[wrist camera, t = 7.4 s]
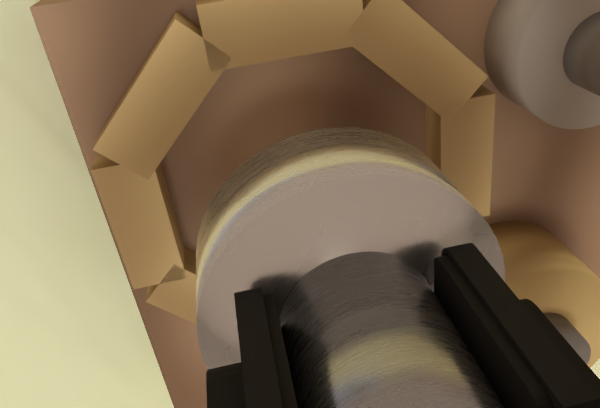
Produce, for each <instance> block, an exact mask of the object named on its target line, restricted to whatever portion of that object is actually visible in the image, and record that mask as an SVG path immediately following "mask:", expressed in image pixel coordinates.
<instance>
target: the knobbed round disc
mask: <svg viewBox="0 0 600 408" xmlns="http://www.w3.org/2000/svg"><path fill="white" fill-rule="evenodd" d="M466 243H473V244H474V245H475V246H476V247H477V249H478V250H479V251H480V252H481V253H482V255H483V256H484V257H485V258H486V260H487V261H488V262H489V263H490V264H491V266H492V267H493V268H494V269H495V271H496V272H497V273H498V274H499V275H500V277H501V278H502V279H503V280H504V282H505V266H504V260H503V255H502V251H501V249H500V246H499V243H498V240H497V238H496V236H495V234H494V233H493V231H492V229H491V227H490V226H489V224H488V223H487V222H486V221H485V219H484V218H483V217H482V216H481V215H480V213H479V212H478V211H477V210H476V209H475V208H474V207H473V206H472V204H471V203H470V202H469V201H468V200H467V199H466V198H465V197H464V196H463V195H462V194H461V192H460V191H459V190H458V189H457V188H456V187H455V186H454V185H453V184H452V183H451V182H450V180H449V179H448V178H447V177H446V176H445V175H444V174H443V173H442V172H441V171H440V169H439V168H438V167H437V166H436V165H435V164H434V163H433V162H432V161H431V160H430V159H429V158H428V157H427V156H426V155H424V154H423V153H422V152H421V151H420V150H419V149H417V148H415V147H414V146H412V145H411V144H409V143H407V142H406V141H404V140H401V139H399V138H397V137H394V136H392V135H390V134H387V133H383V132H379V131H376V130H372V129H364V128H356V127H332V128H324V129H316V130H312V131H308V132H304V133H300V134H296V135H294V136H291V137H288V138H286V139H283V140H281V141H278V142H276V143H274V144H272V145H271V146H269V147H267V148H265V149H263V150H261V151H260V152H258V153H257V154H255V155H254V156H253V157H251V158H250V159H248V160H247V161H245V162H244V163H243V164H242V165H241V166H240V167H239V168H238V169H236V170H235V171H234V172H233V173H232V174H231V175H230V176H229V177H228V179H227V180H226V181H225V182H224V183H223V184H222V186H221V187H220V188H219V189H218V191H217V192H216V194H215V196H214V197H213V199H212V200H211V202H210V203H209V205H208V208H207V210H206V212H205V214H204V216H203V219H202V222H201V225H200V229H199V232H198V237H197V244H196V315H197V338H198V343H199V348H200V352H201V354H202V357H203V360H204V362H205V365H206V367H207V368H208V369H213V368H217V367H222V366H226V365H231V364H235V363H240V362H241V355H240V346H239V336H238V327H237V318H236V309H235V299H234V293H236V292H241V291H245V290H250V289H255V288H259V287H261V288H262V292H263V294H267V293H272V292H274V297H275V301H276V306H277V311H278V316H279V320H280V325H281V330H282V335H283V339H284V344H285V349H286V354H287V359H288V363H289V368H290V373H291V378H292V382H293V387H294V392H295V397H296V401H297V406H298V408H505V407H504V405H503V404H502V402H501V401H500V399H499V397H498V396H497V394H496V392H495V391H494V389H493V388H492V386H491V384H490V383H489V381H488V379H487V378H486V376H485V375H484V373H483V371H482V370H481V368H480V366H479V365H478V363H477V362H476V360H475V358H474V357H473V355H472V353H471V352H470V350H469V349H468V347H467V345H466V344H465V342H464V340H463V339H462V337H461V336H460V334H459V332H458V331H457V329H456V327H455V326H454V324H453V323H452V321H451V319H450V318H449V316H448V314H447V313H446V311H445V310H444V308H443V306H442V305H441V303H440V301H439V300H438V298H437V297H436V295H435V293H434V259H435V258H436V257H440V256H441V252H442V250H443V249H444V248H447V247H452V246H456V245H461V244H466Z"/></svg>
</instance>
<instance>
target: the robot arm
mask: <svg viewBox="0 0 600 408" xmlns="http://www.w3.org/2000/svg"><path fill="white" fill-rule="evenodd" d="M434 293H435V295H436V297H437V298H438V300H439V301H440V303H441V305H442V306H443V308H444V310H445V311H446V313H447V314H448V316H449V318H450V319H451V321H452V323H453V324H454V326H455V327H456V329H457V331H458V332H459V334H460V336H461V337H462V339H463V340H464V342H465V344H466V345H467V347H468V349H469V350H470V352H471V353H472V355H473V357H474V358H475V360H476V362H477V363H478V365H479V366H480V368H481V370H482V371H483V373H484V375H485V376H486V378H487V379H488V381H489V383H490V384H491V386H492V388H493V389H494V391H495V392H496V394H497V396H498V397H499V399H500V401H501V402H502V404H503V405H504V407H505V408H600V379H599V378H598V377H597V376H596V375H595V374H594V372H593V371H592V370H591V369H590V368H589V367H588V365H587V364H586V363H585V362H584V361H583V359H582V358H581V357H580V356H579V355H578V354H577V352H576V351H575V350H574V349H573V348H572V346H571V345H570V344H569V343H568V342H567V341H566V339H565V338H564V337H563V336H562V335H561V334H560V332H559V331H558V330H557V329H556V328H555V326H554V325H553V324H552V323H551V322H550V321H549V319H548V318H547V317H546V316H545V315H544V314H543V312H542V311H541V310H540V309H539V308H538V306H537V305H536V304H534V303H533V302H532V301H531V300H529V299H526V298H525V299H521V300H519V299H518V297H517V296H516V295H515V294H514V293H513V291H512V290H511V289H510V288H509V286H508V285H507V284H506V283H505V282H504V280H503V279H502V278H501V277H500V275H499V274H498V273H497V272H496V271H495V269H494V268H493V267H492V266H491V264H490V263H489V262H488V261H487V260H486V258H485V257H484V256H483V255H482V253H481V252H480V251H479V250H478V249H477V247H476V246H475V245H474V244H473V243H466V244H461V245H456V246H452V247H447V248H444V249H443V250H442V252H441V256H440V257H436V258H435V259H434ZM234 299H235V309H236V318H237V327H238V336H239V346H240V355H241V362H240V363H235V364H231V365H226V366H222V367H217V368H213V369H208V370H207V372H206V391H207V408H298V406H297V401H296V397H295V392H294V387H293V382H292V378H291V373H290V368H289V363H288V359H287V354H286V349H285V344H284V339H283V335H282V330H281V325H280V320H279V316H278V311H277V306H276V301H275V297H274V292H272V293H267V294H263V292H262V288H261V287H259V288H255V289H250V290H245V291H241V292H236V293H234Z"/></svg>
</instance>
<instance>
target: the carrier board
mask: <svg viewBox="0 0 600 408" xmlns="http://www.w3.org/2000/svg"><path fill="white" fill-rule="evenodd" d="M30 9H31V12H32V15H33V18H34V20H35V23H36V26H37V29H38V32H39V34H40V37H41V40H42V43H43V45H44V48H45V51H46V54H47V56H48V59H49V62H50V65H51V68H52V70H53V73H54V76H55V79H56V81H57V84H58V87H59V90H60V92H61V95H62V98H63V101H64V104H65V106H66V109H67V112H68V115H69V117H70V120H71V123H72V126H73V128H74V131H75V134H76V137H77V140H78V142H79V145H80V148H81V151H82V153H83V156H84V159H85V162H86V164H87V167H88V170H89V173H90V176H91V178H92V181H93V184H94V187H95V189H96V192H97V195H98V198H99V200H100V203H101V206H102V209H103V212H104V214H105V217H106V220H107V223H108V225H109V228H110V231H111V234H112V236H113V239H114V242H115V245H116V248H117V250H118V253H119V256H120V259H121V261H122V264H123V267H124V270H125V272H126V275H127V278H128V281H129V284H130V286H131V289H132V292H133V295H134V297H135V300H136V303H137V306H138V308H139V311H140V314H141V317H142V320H143V322H144V325H145V328H146V331H147V333H148V336H149V339H150V342H151V344H152V347H153V350H154V353H155V356H156V358H157V361H158V364H159V367H160V369H161V372H162V375H163V378H164V380H165V383H166V386H167V389H168V392H169V394H170V397H171V400H172V403H173V405H174V408H207V391H206V372H207V370H208V368H207V367H206V365H205V362H204V360H203V357H202V354H201V352H200V348H199V343H198V338H197V315H196V244H197V237H198V232H199V229H200V225H201V222H202V219H203V216H204V214H205V212H206V210H207V208H208V205H209V203H210V202H211V200H212V199H213V197H214V196H215V194H216V192H217V191H218V189H219V188H220V187H221V186H222V184H223V183H224V182H225V181H226V180H227V179H228V177H229V176H230V175H231V174H232V173H233V172H234V171H235V170H236V169H238V168H239V167H240V166H241V165H242V164H243V163H244V162H245V161H247V160H248V159H250V158H251V157H253V156H254V155H255V154H257V153H258V152H260V151H261V150H263V149H265V148H267V147H269V146H271V145H272V144H274V143H276V142H278V141H281V140H283V139H286V138H288V137H291V136H294V135H296V134H300V133H304V132H308V131H312V130H316V129H324V128H332V127H356V128H364V129H372V130H376V131H379V132H383V133H387V134H390V135H392V136H394V137H397V138H399V139H401V140H404V141H406V142H407V143H409V144H411V145H412V146H414V147H415V148H417V149H419V150H420V151H421V152H422V153H423V154H424V155H426V156H427V157H428V158H429V159H430V160H431V161H432V162H433V163H434V164H435V165H436V166H437V167H438V168H439V169H440V171H441V172H442V173H443V174H444V175H445V176H446V177H447V178H448V179H449V180H450V182H451V183H452V184H453V185H454V186H455V187H456V188H457V189H458V190H459V191H460V192H461V194H462V195H463V196H464V197H465V198H466V199H467V200H468V201H469V202H470V203H471V204H472V206H473V207H474V208H475V209H476V210H477V211H478V212H479V213H480V215H481V216H482V217H483V218H484V219H485V221H486V222H487V223H488V224H489V226H490V227H491V229H492V231H493V233H494V234H495V236H496V238H497V240H498V243H499V246H500V249H501V251H502V255H503V260H504V266H505V283H506V284H507V285H508V286H509V288H510V289H511V290H512V291H513V293H514V294H515V295H516V296H517V297H518V299H519V300H521V299H525V298H526V299H529V300H531V301H532V302H533V303H534V304H536V305H537V306H538V308H539V309H540V310H541V311H542V312H543V314H544V315H545V316H546V317H547V318H548V319H549V321H550V322H551V323H552V324H553V325H554V326H555V328H556V329H557V330H558V331H559V332H560V334H561V335H562V336H563V337H564V338H565V339H566V341H567V342H568V343H569V344H570V345H571V346H572V348H573V349H574V350H575V351H576V352H577V354H578V355H579V356H580V357H581V358H582V359H583V361H584V362H585V363H586V364H587V365H588V367H589V368H590V367H591V366H592V365H593V364H594V363H595V362H596V361H597V360H598V359H599V358H600V0H40V1H39V2H37V3H36V4H34V5H33V6H31V7H30Z"/></svg>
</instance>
